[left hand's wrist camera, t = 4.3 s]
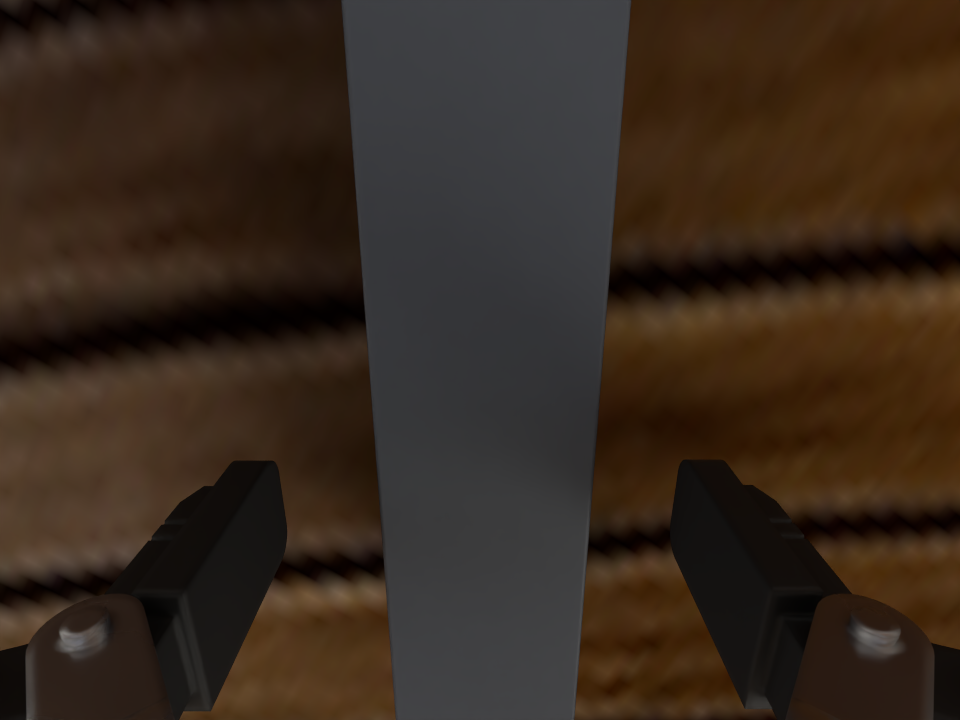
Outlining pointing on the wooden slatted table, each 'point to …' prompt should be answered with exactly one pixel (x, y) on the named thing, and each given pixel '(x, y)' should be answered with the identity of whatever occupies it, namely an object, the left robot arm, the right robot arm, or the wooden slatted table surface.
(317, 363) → the wooden slatted table surface
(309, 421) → the wooden slatted table surface
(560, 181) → the beam
